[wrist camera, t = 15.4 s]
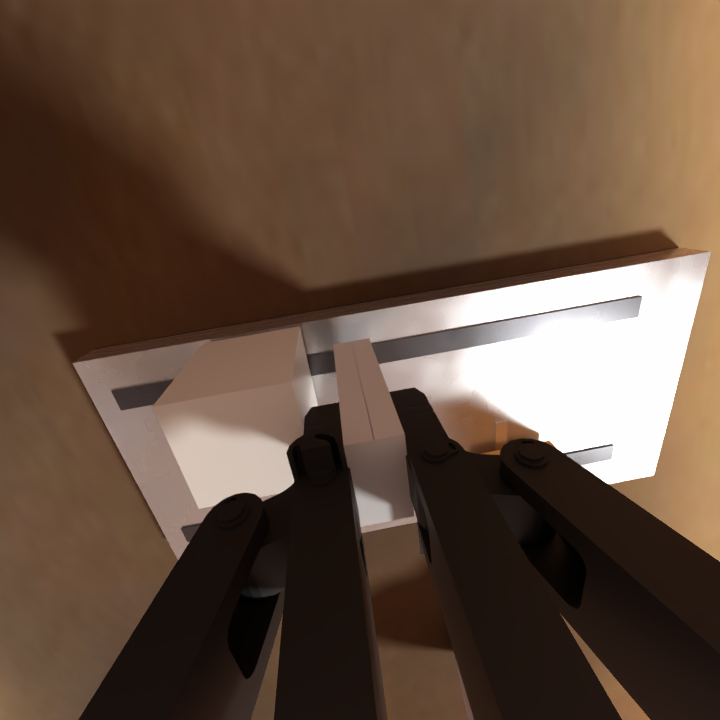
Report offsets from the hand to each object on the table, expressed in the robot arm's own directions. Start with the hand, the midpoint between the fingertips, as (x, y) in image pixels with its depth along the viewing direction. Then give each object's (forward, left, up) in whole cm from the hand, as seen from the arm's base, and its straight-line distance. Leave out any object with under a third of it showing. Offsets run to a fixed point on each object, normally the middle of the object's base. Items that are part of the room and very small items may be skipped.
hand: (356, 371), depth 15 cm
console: (+2, -4, -3) cm, 6 cm away
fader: (-4, 0, -1) cm, 4 cm away
